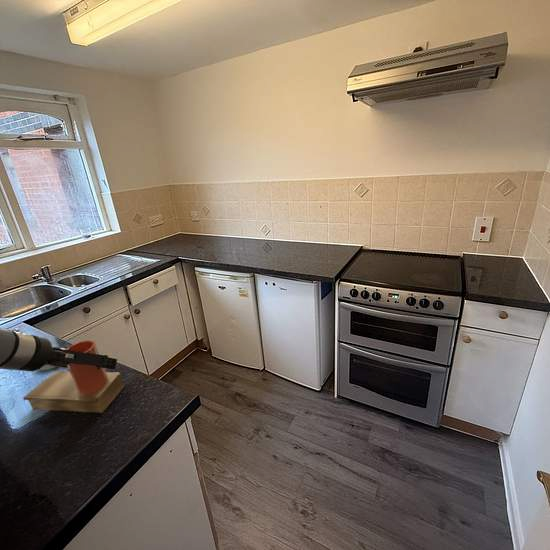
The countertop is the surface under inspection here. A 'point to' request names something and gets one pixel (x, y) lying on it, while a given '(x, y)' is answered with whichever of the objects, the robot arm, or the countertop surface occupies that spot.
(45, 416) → the countertop surface
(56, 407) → the wooden block
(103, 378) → the cup
